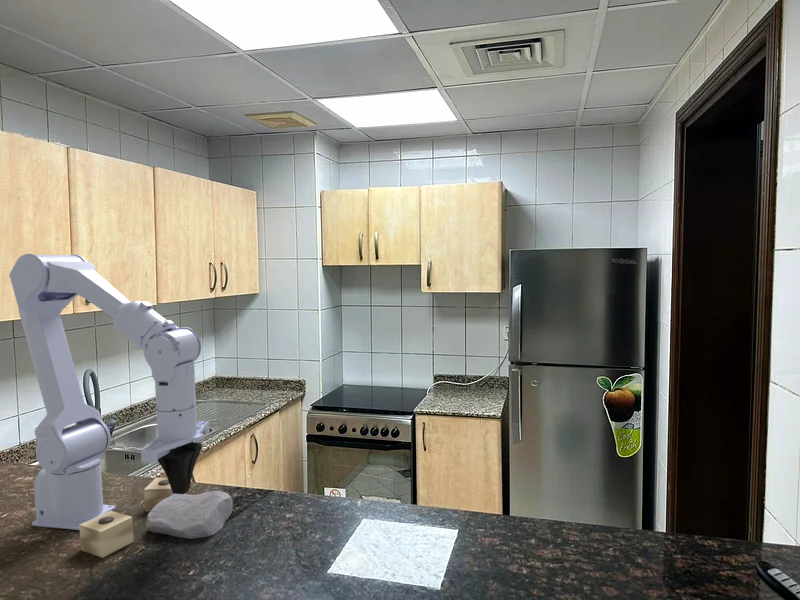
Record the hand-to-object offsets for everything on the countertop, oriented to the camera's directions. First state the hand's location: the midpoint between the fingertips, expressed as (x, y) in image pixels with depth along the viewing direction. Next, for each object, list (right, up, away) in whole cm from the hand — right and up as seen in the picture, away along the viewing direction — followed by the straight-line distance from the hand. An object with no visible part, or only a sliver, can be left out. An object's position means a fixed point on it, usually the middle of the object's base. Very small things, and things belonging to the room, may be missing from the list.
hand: (180, 492), depth 84 cm
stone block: (0, -7, +2) cm, 7 cm away
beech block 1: (-9, -7, -4) cm, 12 cm away
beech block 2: (-7, -6, +10) cm, 14 cm away
